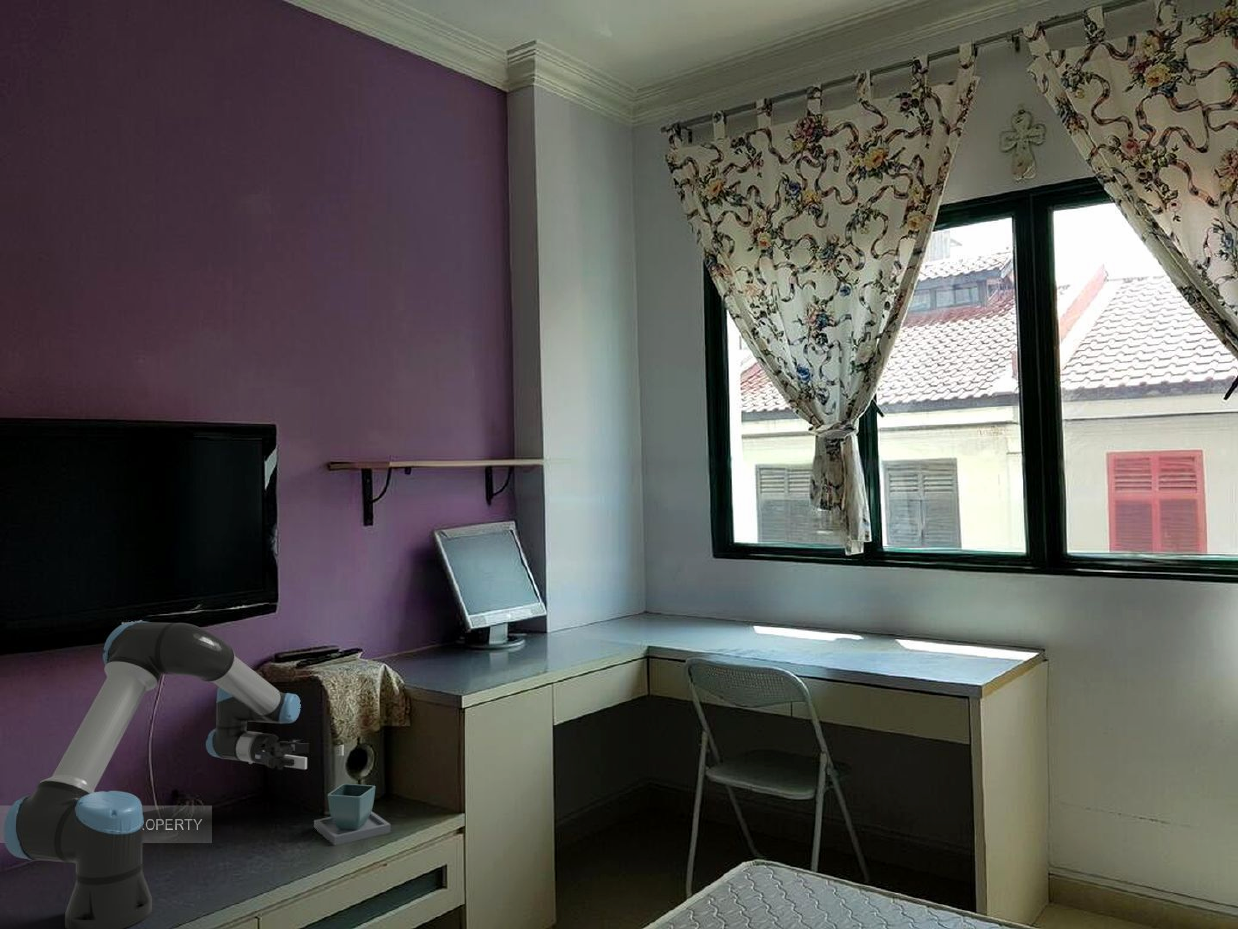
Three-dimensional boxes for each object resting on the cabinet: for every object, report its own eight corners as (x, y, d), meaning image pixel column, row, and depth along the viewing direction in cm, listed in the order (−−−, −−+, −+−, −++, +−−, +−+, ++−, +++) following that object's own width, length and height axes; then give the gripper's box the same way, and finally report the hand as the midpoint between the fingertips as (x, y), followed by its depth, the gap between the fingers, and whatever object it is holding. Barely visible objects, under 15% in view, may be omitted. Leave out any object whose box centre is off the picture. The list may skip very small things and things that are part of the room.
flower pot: (360, 834, 232) (360, 796, 232) (326, 832, 233) (326, 794, 234) (376, 821, 240) (376, 785, 241) (343, 819, 242) (343, 783, 242)
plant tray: (334, 845, 227) (334, 837, 227) (314, 828, 238) (314, 820, 239) (390, 832, 236) (390, 824, 236) (368, 816, 247) (368, 809, 247)
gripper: (293, 751, 261) (356, 759, 253) (221, 775, 238) (289, 785, 230) (293, 723, 261) (357, 730, 253) (222, 744, 238) (289, 753, 230)
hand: (325, 756), depth 241 cm, fingers open, 13 cm apart
